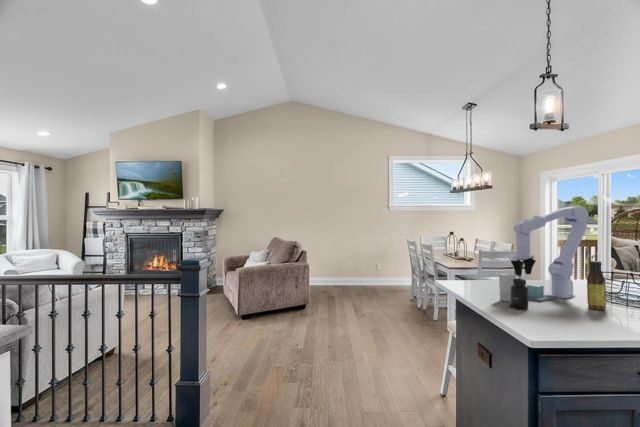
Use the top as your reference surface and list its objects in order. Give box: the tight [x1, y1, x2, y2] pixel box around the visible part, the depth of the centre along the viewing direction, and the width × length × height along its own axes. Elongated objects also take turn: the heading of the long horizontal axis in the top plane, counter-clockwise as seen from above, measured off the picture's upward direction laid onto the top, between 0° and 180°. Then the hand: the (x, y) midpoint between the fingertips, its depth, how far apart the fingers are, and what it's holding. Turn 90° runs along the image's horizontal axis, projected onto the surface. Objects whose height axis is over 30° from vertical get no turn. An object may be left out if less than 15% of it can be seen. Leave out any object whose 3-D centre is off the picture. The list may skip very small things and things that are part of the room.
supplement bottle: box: [509, 278, 529, 311], centre depth 156 cm, size 7×7×12 cm
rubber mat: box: [528, 294, 556, 303], centre depth 173 cm, size 12×12×1 cm
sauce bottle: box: [586, 260, 607, 311], centre depth 154 cm, size 6×6×20 cm
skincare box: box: [498, 273, 517, 302], centre depth 168 cm, size 6×4×12 cm
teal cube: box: [526, 283, 545, 298], centre depth 173 cm, size 5×5×5 cm
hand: (523, 274), depth 177 cm, fingers open, 7 cm apart
